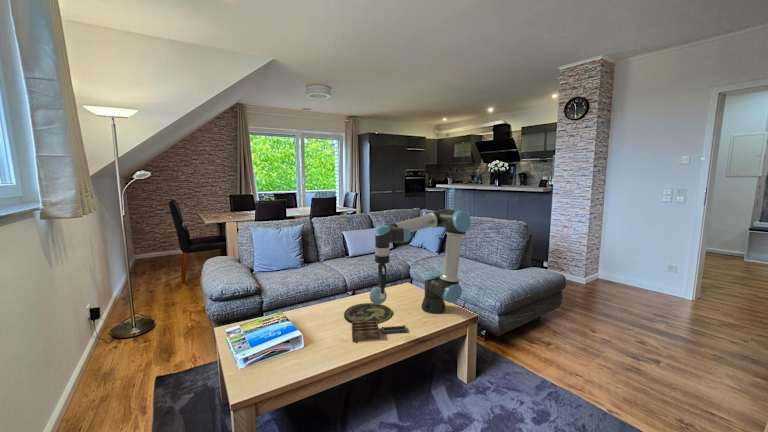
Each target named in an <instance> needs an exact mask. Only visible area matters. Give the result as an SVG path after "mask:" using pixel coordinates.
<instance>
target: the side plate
mask: <svg viewBox="0 0 768 432" xmlns="http://www.w3.org/2000/svg"><path fill="white" fill-rule="evenodd" d="M379 293H380V288H379V286H376V287H373V288H372V289H371V291H369V299H370V301H371V303H374V304H381V305H382V304H383V303H385V302H386V300H387V297H388V295H387V291H386V290H385V299H379Z"/></svg>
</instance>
